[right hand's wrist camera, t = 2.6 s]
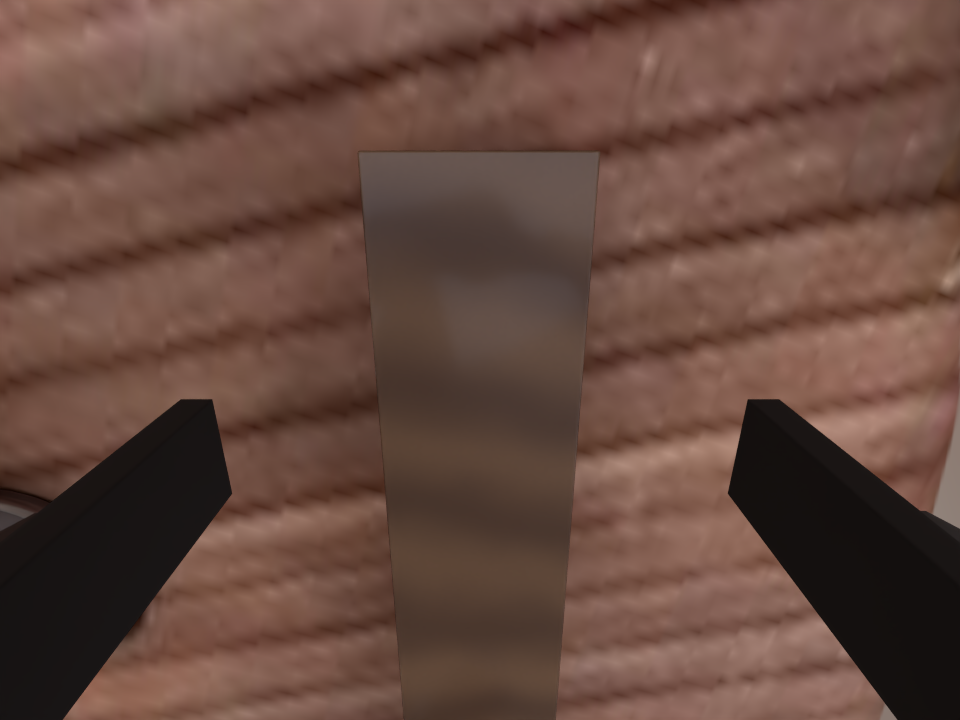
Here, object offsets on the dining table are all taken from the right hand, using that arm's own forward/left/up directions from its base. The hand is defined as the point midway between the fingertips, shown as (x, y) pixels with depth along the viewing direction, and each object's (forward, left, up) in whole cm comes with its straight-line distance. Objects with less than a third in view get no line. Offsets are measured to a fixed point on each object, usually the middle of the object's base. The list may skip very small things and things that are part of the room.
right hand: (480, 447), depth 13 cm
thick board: (+14, -25, -16) cm, 33 cm away
